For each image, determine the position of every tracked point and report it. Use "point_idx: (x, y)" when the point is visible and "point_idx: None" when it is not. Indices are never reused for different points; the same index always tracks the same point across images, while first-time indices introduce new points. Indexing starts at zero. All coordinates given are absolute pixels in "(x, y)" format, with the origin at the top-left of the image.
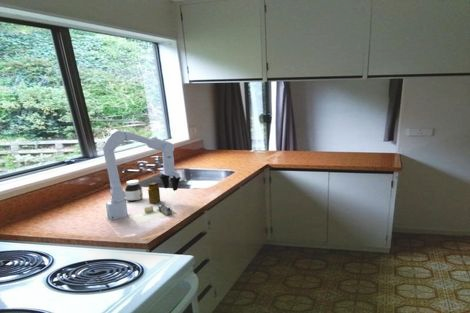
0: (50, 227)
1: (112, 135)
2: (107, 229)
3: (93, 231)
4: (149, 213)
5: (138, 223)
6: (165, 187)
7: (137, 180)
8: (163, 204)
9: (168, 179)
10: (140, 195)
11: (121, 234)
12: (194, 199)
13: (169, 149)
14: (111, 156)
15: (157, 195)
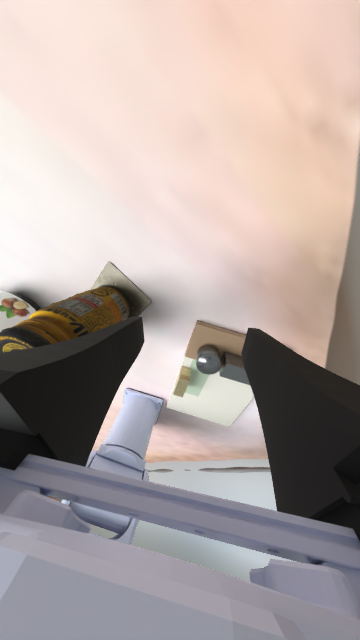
0: (98, 449)
1: None
2: (183, 439)
3: (169, 447)
4: (194, 381)
5: (226, 424)
6: (141, 345)
7: None
8: (208, 357)
9: (94, 350)
10: (19, 314)
11: (229, 445)
12: (222, 116)
13: None
14: None
15: (109, 324)
